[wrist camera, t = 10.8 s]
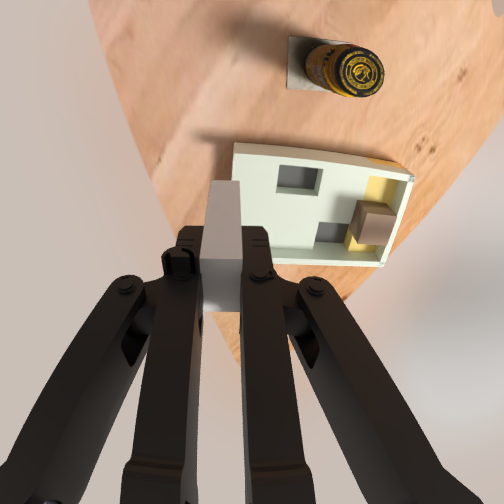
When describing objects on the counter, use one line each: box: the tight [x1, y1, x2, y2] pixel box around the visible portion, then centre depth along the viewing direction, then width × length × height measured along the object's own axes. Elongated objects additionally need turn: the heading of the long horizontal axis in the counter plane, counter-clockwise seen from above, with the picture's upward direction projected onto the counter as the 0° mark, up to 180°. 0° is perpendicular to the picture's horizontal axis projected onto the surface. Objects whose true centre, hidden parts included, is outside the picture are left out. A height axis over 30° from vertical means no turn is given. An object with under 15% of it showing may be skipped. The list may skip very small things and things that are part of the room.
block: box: [349, 200, 397, 246], centre depth 43 cm, size 5×5×4 cm
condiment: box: [287, 36, 384, 97], centre depth 29 cm, size 7×8×12 cm
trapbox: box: [231, 142, 415, 267], centre depth 43 cm, size 16×25×5 cm, turn 85°
